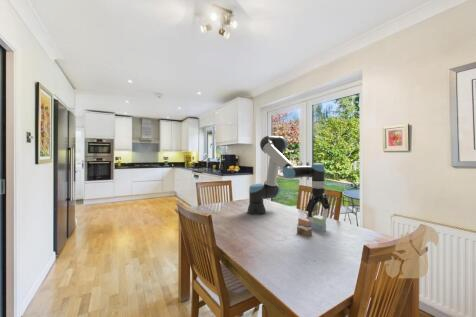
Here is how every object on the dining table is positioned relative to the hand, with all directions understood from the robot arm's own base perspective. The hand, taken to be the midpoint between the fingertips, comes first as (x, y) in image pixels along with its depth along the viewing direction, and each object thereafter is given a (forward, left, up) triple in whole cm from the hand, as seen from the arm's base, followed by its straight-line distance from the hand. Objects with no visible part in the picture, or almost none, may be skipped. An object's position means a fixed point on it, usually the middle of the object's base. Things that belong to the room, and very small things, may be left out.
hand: (318, 220), depth 140 cm
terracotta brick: (-11, 0, -6) cm, 13 cm away
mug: (-17, +13, -6) cm, 22 cm away
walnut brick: (+1, -14, -6) cm, 15 cm away
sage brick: (0, 0, -2) cm, 2 cm away
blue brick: (0, 0, -6) cm, 6 cm away
